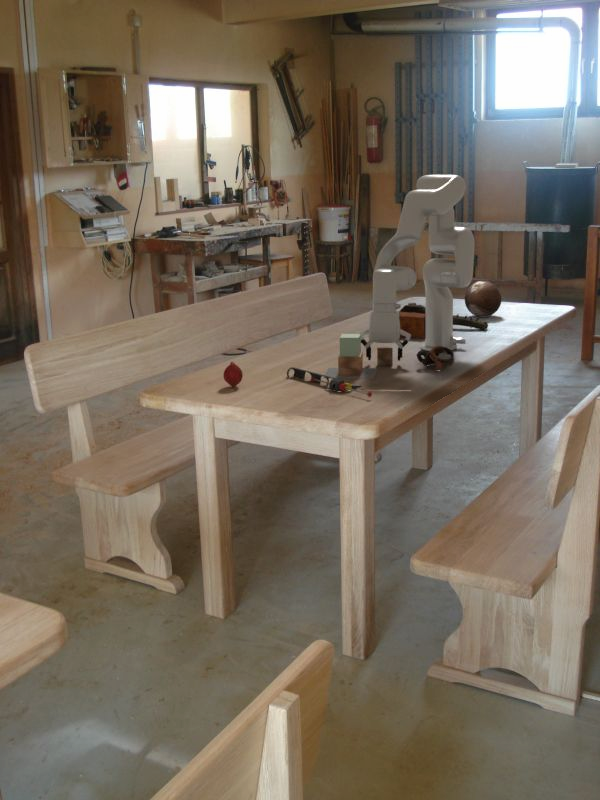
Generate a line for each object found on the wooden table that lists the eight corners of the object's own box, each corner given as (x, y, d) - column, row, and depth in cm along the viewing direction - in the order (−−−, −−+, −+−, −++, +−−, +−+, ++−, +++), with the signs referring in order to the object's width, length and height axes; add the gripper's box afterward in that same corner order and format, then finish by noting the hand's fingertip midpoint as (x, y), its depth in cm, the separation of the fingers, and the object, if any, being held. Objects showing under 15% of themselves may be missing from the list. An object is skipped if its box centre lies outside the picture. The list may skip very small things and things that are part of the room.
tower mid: (360, 352, 300) (360, 334, 298) (359, 356, 294) (358, 337, 292) (342, 352, 301) (341, 333, 299) (339, 356, 295) (339, 337, 293)
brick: (422, 317, 347) (422, 339, 350) (431, 312, 354) (431, 335, 357) (374, 313, 357) (375, 335, 360) (384, 309, 364) (384, 331, 367)
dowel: (393, 364, 311) (393, 346, 309) (392, 367, 306) (392, 349, 305) (377, 364, 312) (377, 346, 310) (376, 367, 307) (376, 349, 305)
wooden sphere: (458, 318, 388) (459, 282, 384) (472, 312, 400) (473, 277, 396) (493, 321, 380) (494, 284, 376) (506, 315, 392) (507, 279, 388)
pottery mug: (449, 365, 309) (457, 346, 303) (448, 384, 302) (456, 365, 296) (414, 357, 309) (420, 338, 303) (412, 375, 302) (418, 356, 296)
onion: (226, 384, 290) (224, 359, 288) (244, 384, 290) (243, 359, 288) (222, 389, 285) (221, 363, 283) (241, 389, 284) (240, 363, 282)
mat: (377, 369, 304) (377, 368, 304) (374, 379, 291) (374, 378, 291) (328, 368, 307) (328, 367, 307) (322, 379, 294) (322, 377, 294)
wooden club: (488, 329, 365) (489, 304, 362) (486, 332, 360) (486, 306, 358) (391, 325, 378) (391, 301, 376) (388, 327, 374) (388, 303, 372)
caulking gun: (309, 367, 301) (284, 366, 295) (388, 388, 273) (363, 387, 266) (308, 379, 302) (283, 379, 295) (387, 401, 273) (361, 401, 267)
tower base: (362, 370, 302) (362, 352, 300) (360, 375, 295) (360, 357, 293) (341, 370, 303) (340, 352, 301) (338, 375, 296) (338, 356, 295)
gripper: (411, 306, 306) (411, 357, 310) (358, 305, 309) (359, 356, 313) (410, 309, 299) (410, 362, 303) (356, 309, 302) (356, 361, 306)
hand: (384, 359), depth 308 cm, fingers open, 9 cm apart
